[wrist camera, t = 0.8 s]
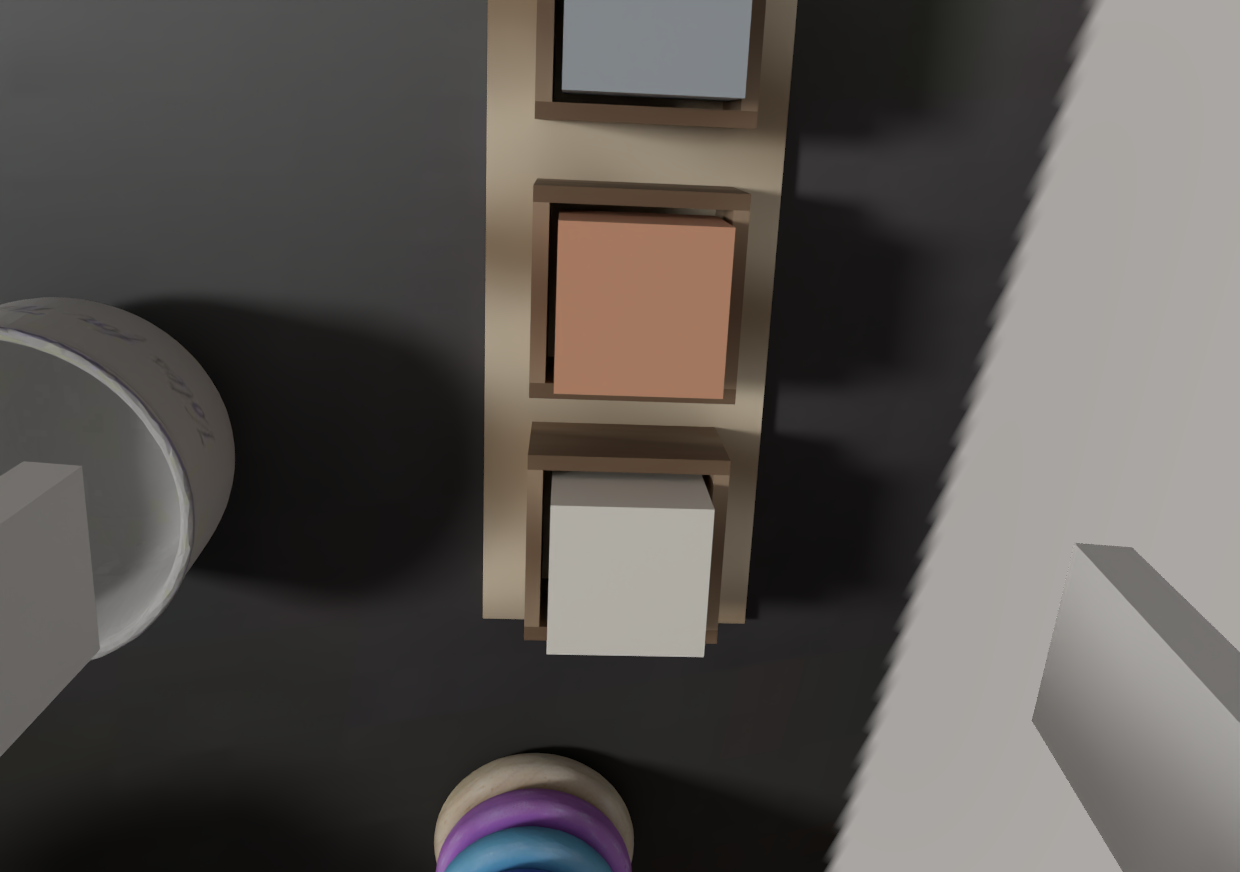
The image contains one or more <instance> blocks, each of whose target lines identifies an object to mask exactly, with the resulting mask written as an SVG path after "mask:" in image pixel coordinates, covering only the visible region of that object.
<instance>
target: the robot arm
mask: <svg viewBox="0 0 1240 872" xmlns="http://www.w3.org/2000/svg"><path fill="white" fill-rule="evenodd" d="M99 650H100V645H99V634H98V624H97V614H96V604H95V594H94V583H93V573H92V563H91V553H90V542H89V532H88V522H87V512H86V502H85V491H84V481H83V471H82V466H78V465H65V464H52V463H39V462H27V461H23V462H22V463H20V464H18V465H17V466H15V467H14V468H12V469H11V470H9V471H8V472H6V473H4V474H3V475H1V476H0V757H1V755H2V754H3V753H4V752H5V751H6V750H7V749H8V748H9V747H10V746H11V745H12V744H13V743H14V741H15V740H16V739H17V738H18V737H19V736H20V735H21V734H22V733H23V732H24V731H25V730H26V729H27V727H28V726H29V725H30V724H31V723H32V722H33V721H34V720H35V719H36V718H37V717H38V716H39V715H40V713H41V712H42V711H43V710H44V709H45V708H46V707H47V706H48V705H49V704H50V703H51V702H52V701H53V699H54V698H55V697H56V696H57V695H58V694H59V693H60V692H61V691H62V690H63V689H64V688H65V687H66V685H67V684H68V683H69V682H70V681H71V680H72V679H73V678H74V677H75V676H76V675H77V674H78V673H79V671H80V670H81V669H82V668H83V667H84V666H85V665H86V664H87V663H88V662H89V661H90V660H91V659H92V657H93V656H94V655H95V654H96V653H97V652H98V651H99ZM1032 721H1033V723H1034V725H1035V726H1036V728H1037V730H1038V731H1039V733H1040V735H1041V736H1042V738H1043V740H1044V741H1045V743H1046V745H1047V746H1048V748H1049V750H1050V751H1051V753H1052V754H1053V756H1054V758H1055V760H1056V761H1057V763H1058V765H1059V766H1060V768H1061V770H1062V771H1063V773H1064V775H1065V776H1066V778H1067V780H1068V781H1069V783H1070V785H1071V786H1072V788H1073V790H1074V791H1075V793H1076V794H1077V796H1078V798H1079V800H1080V801H1081V803H1082V804H1083V806H1084V808H1085V810H1086V811H1087V813H1088V815H1089V816H1090V818H1091V819H1092V821H1093V823H1094V824H1095V826H1096V828H1097V829H1098V831H1099V833H1100V834H1101V836H1102V838H1103V839H1104V841H1105V843H1106V844H1107V846H1108V847H1109V849H1110V851H1111V853H1112V854H1113V856H1114V858H1115V859H1116V861H1117V863H1118V864H1119V866H1120V868H1121V869H1122V871H1123V872H1240V652H1239V651H1238V650H1237V649H1236V648H1235V647H1234V646H1233V645H1232V644H1231V643H1230V642H1229V641H1227V640H1226V638H1225V637H1224V636H1223V635H1222V634H1220V633H1219V632H1218V631H1217V630H1216V629H1215V628H1214V627H1213V626H1212V625H1211V624H1210V623H1209V622H1208V621H1207V620H1206V619H1205V618H1204V617H1203V616H1202V615H1201V614H1200V613H1199V612H1198V611H1197V610H1196V609H1195V608H1194V607H1193V606H1192V605H1191V604H1190V603H1189V602H1188V601H1187V600H1186V599H1184V598H1183V597H1182V596H1181V595H1180V594H1179V593H1178V592H1177V591H1176V590H1175V589H1174V588H1173V587H1172V586H1171V585H1170V584H1169V583H1168V582H1167V581H1166V580H1165V579H1164V578H1163V577H1162V576H1161V575H1160V574H1159V573H1158V572H1157V571H1156V570H1155V569H1153V567H1152V566H1151V565H1150V564H1149V563H1147V562H1146V561H1145V560H1144V559H1143V558H1142V557H1141V556H1140V555H1139V554H1138V553H1137V552H1136V551H1135V550H1134V549H1133V548H1131V547H1119V546H1106V545H1093V544H1080V543H1075V544H1074V548H1073V552H1072V556H1071V560H1070V565H1069V569H1068V573H1067V577H1066V581H1065V586H1064V590H1063V594H1062V598H1061V602H1060V607H1059V610H1058V615H1057V619H1056V623H1055V627H1054V631H1053V635H1052V640H1051V644H1050V648H1049V652H1048V656H1047V660H1046V664H1045V669H1044V673H1043V677H1042V681H1041V685H1040V689H1039V694H1038V697H1037V702H1036V706H1035V710H1034V714H1033V719H1032Z"/></svg>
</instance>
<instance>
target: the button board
mask: <svg viewBox="0 0 1240 872" xmlns="http://www.w3.org/2000/svg"><path fill="white" fill-rule="evenodd" d="M797 1H798V0H752V11H751V25H750V38H749V52H748V65H747V79H746V93H745V98H743V99H736V100H730V101H710V100H688V99H667V98H646V97H625V96H604V95H583V94H563V92H562V64H563V27H564V0H488V49H487V172H486V295H485V418H484V541H483V618H494V619H524V640H547V618H548V581H549V544H550V507H551V487H552V470H553V471H589V472H626V473H662V474H698V475H702V477H703V480H704V482H705V485H706V488H707V490H708V493H709V496H710V498H711V501H712V504H713V506H714V509H715V512H714V526H713V540H712V553H711V567H710V580H709V594H708V607H707V621H706V634H705V643H711V644H717V632H718V623H745V612H746V601H747V589H748V577H749V565H750V554H751V542H752V530H753V518H754V507H755V495H756V483H757V471H758V460H759V448H760V436H761V424H762V412H763V401H764V389H765V377H766V365H767V354H768V342H769V330H770V318H771V307H772V295H773V283H774V271H775V260H776V248H777V236H778V224H779V213H780V201H781V189H782V177H783V166H784V154H785V142H786V130H787V119H788V107H789V95H790V83H791V72H792V60H793V48H794V36H795V25H796V13H797ZM560 209H565V210H589V211H613V212H637V213H661V214H686V215H710V216H718V217H719V218H721V219H723V220H724V221H726V222H727V223H729V224H731V225H732V226H734V227H735V242H734V255H733V269H732V282H731V296H730V309H729V323H728V336H727V350H726V363H725V377H724V391H723V399H705V398H673V397H641V396H610V395H578V394H554V360H555V323H556V286H557V249H558V219H559V211H560Z"/></svg>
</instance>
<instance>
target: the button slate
mask: <svg viewBox="0 0 1240 872" xmlns="http://www.w3.org/2000/svg"><path fill="white" fill-rule="evenodd" d="M751 11H752V0H564V27H563V64H562V92H563V94H583V95H604V96H625V97H646V98H667V99H688V100H710V101H730V100H736V99H743V98H745V93H746V79H747V65H748V52H749V38H750V25H751Z"/></svg>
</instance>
